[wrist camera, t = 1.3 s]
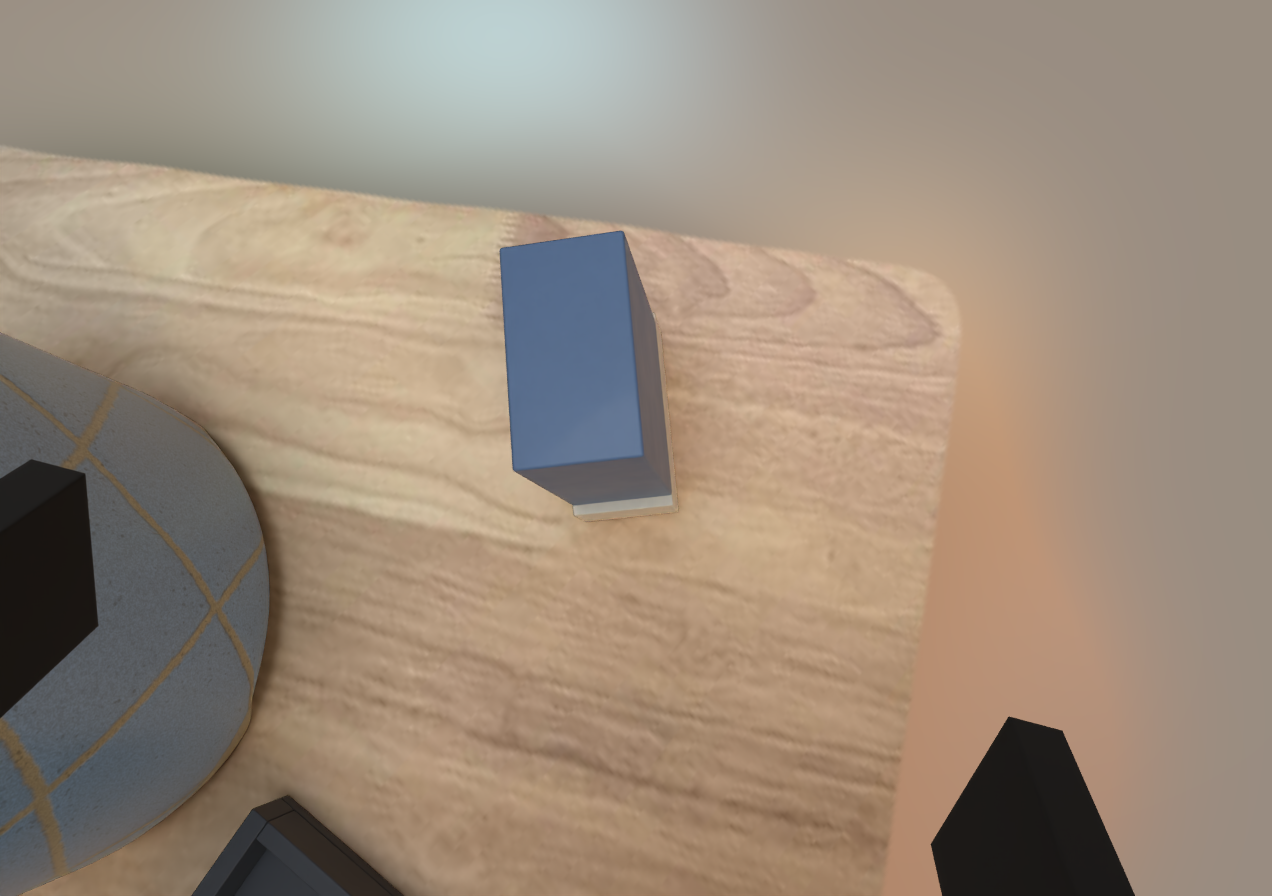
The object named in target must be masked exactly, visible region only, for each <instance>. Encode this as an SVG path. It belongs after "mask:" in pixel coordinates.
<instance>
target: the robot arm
mask: <svg viewBox="0 0 1272 896" xmlns="http://www.w3.org/2000/svg"><path fill="white" fill-rule="evenodd" d="M98 626H99V625H98V614H97V602H96V590H95V579H94V567H93V555H92V543H91V532H90V520H89V508H88V496H87V485H86V473H82V472H79V471H75V470H71V469H67V468H63V467H60V466H56V465H52V464H48V463H44V462H41V461H37V460H33V459H31V460H29V461H27V462H26V463H24V464H23V465H21V466H19V467H18V468H16V469H15V470H13V471H11V472H10V473H8V474H7V475H5V476H3V477H2V478H0V718H1V717H2V716H4V715H5V714H6V713H7V712H8V711H9V710H10V709H11V708H12V707H13V706H14V705H15V704H16V703H17V702H18V701H19V700H20V699H22V698H23V697H24V696H25V695H26V694H27V693H28V692H29V691H30V690H31V689H32V688H33V687H34V686H35V685H36V684H37V683H38V682H40V681H41V680H42V679H43V678H44V677H45V676H46V675H47V674H48V673H49V672H50V671H51V670H52V669H53V668H54V667H55V666H56V665H58V664H59V663H60V662H61V661H62V660H63V659H64V658H65V657H66V656H67V655H68V654H69V653H70V652H71V651H72V650H73V649H74V648H76V647H77V646H78V645H79V644H80V643H81V642H82V641H83V640H84V639H85V638H86V637H87V636H88V635H89V634H90V633H91V632H92V631H94V630H95V629H96V628H97V627H98ZM931 847H932V851H933V856H934V861H935V865H936V870H937V874H938V879H939V883H940V888H941V892H942V896H1135V894H1134V892H1133V890H1132V888H1131V886H1130V883H1129V881H1128V878H1127V876H1126V874H1125V872H1124V869H1123V867H1122V865H1121V863H1120V861H1119V858H1118V856H1117V854H1116V851H1115V849H1114V847H1113V845H1112V842H1111V840H1110V838H1109V835H1108V833H1107V831H1106V829H1105V826H1104V824H1103V822H1102V820H1101V817H1100V815H1099V813H1098V811H1097V808H1096V806H1095V804H1094V802H1093V799H1092V797H1091V795H1090V793H1089V791H1088V788H1087V786H1086V783H1085V781H1084V779H1083V777H1082V774H1081V772H1080V770H1079V768H1078V765H1077V763H1076V761H1075V759H1074V756H1073V754H1072V752H1071V750H1070V747H1069V745H1068V743H1067V740H1066V738H1065V736H1064V734H1063V731H1061V730H1058V729H1054V728H1050V727H1046V726H1043V725H1039V724H1035V723H1031V722H1027V721H1023V720H1020V719H1016V718H1012V717H1008V719H1007V720H1006V722H1005V723H1004V725H1003V727H1002V728H1001V730H1000V732H999V733H998V735H997V737H996V738H995V740H994V742H993V743H992V745H991V746H990V748H989V750H988V751H987V753H986V755H985V756H984V758H983V759H982V761H981V763H980V764H979V766H978V768H977V769H976V771H975V773H974V774H973V776H972V778H971V779H970V781H969V782H968V784H967V786H966V788H965V789H964V791H963V792H962V794H961V796H960V798H959V799H958V800H957V802H956V804H955V805H954V807H953V809H952V810H951V812H950V814H949V815H948V817H947V819H946V820H945V822H944V823H943V825H942V827H941V828H940V830H939V832H938V833H937V835H936V837H935V838H934V840H933V842H932V843H931Z"/></svg>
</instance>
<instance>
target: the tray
mask: <svg viewBox="0 0 1272 896" xmlns="http://www.w3.org/2000/svg"><path fill="white" fill-rule="evenodd" d="M192 896H403V895H402V894H401V893H400V892H399V891H397V890H396V889H395V888H394V887H393V886H392V885H391V884H389V883H388V882H387V881H386V880H385V879H384V878H383V877H381V876H380V875H379V874H378V873H377V872H376V871H375V870H373V869H372V868H371V867H370V866H369V865H368V864H366V863H365V862H364V861H363V860H362V859H361V858H360V857H358V856H357V855H356V854H355V853H354V852H353V851H352V850H350V849H349V848H348V847H347V846H346V845H345V844H344V843H342V842H341V841H340V840H339V839H338V838H337V837H335V836H334V835H333V834H332V833H331V832H330V831H329V830H327V829H326V828H325V827H324V826H323V825H322V824H321V823H319V822H318V821H317V820H316V819H315V818H314V817H313V816H311V815H310V814H309V813H308V812H307V811H306V810H304V809H303V808H302V807H301V806H300V805H299V804H298V803H296V802H295V801H294V800H293V799H292V798H291V797H290V796H288V795H287V796H285V797H282V798H279V799H276V800H274V801H271V802H269V803H266V804H264V805H261V806H259V807H256V808H254V809H252V810H251V812H250V813H249V815H248V816H247V818H246V819H245V820H244V822H243V823H242V825H241V826H240V828H239V829H238V830H237V832H236V833H235V835H234V836H233V837H232V839H231V840H230V842H229V843H228V845H227V846H226V847H225V849H224V850H223V852H222V853H221V854H220V856H219V857H218V859H217V860H216V862H215V863H214V864H213V866H212V867H211V869H210V870H209V871H208V873H207V874H206V876H205V877H204V879H203V880H202V881H201V883H200V884H199V886H198V887H197V888H196V890H195V891H194V893H193V894H192Z"/></svg>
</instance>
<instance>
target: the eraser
mask: <svg viewBox="0 0 1272 896" xmlns="http://www.w3.org/2000/svg"><path fill="white" fill-rule="evenodd" d="M500 267H501V283H502V300H503V316H504V333H505V350H506V366H507V383H508V399H509V416H510V432H511V449H512V466H513V470H514V471H515V472H516V473H518V474H520V475H522V476H523V477H525V478H527V479H529V480H530V481H532V482H534V483H535V484H537V485H539V486H541V487H542V488H544V489H546V490H548V491H549V492H551V493H553V494H555V495H556V496H558V497H560V498H561V499H563V500H565V501H567V502H568V503H570V504H572V505H573V515H574V516H576V517H577V518H579V519H581V520H583V521H585V522H590V521H600V520H609V519H619V518H628V517H638V516H647V515H657V514H666V513H676V512H678V511H679V508H678V498H677V488H676V478H675V468H674V458H673V448H672V438H671V428H670V418H669V407H668V397H667V387H666V377H665V367H664V357H663V347H662V337H661V330H660V327H659V324H658V321H657V318H656V315H655V313H652V311H651V308H650V305H649V303H648V300H647V297H646V294H645V291H644V288H643V285H642V283H641V280H640V277H639V274H638V271H637V268H636V265H635V263H634V260H633V257H632V254H631V251H630V248H629V245H628V243H627V240H626V237H625V234H624V232H623V231H615V232H608V233H602V234H595V235H588V236H581V237H574V238H567V239H560V240H553V241H546V242H540V243H533V244H526V245H519V246H512V247H505V248H501V249H500Z"/></svg>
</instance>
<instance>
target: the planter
mask: <svg viewBox="0 0 1272 896" xmlns="http://www.w3.org/2000/svg"><path fill="white" fill-rule="evenodd" d="M31 459H33V460H37V461H41V462H44V463H48V464H52V465H56V466H60V467H63V468H67V469H71V470H75V471H79V472H82V473H86V485H87V496H88V508H89V520H90V532H91V543H92V555H93V567H94V579H95V590H96V602H97V614H98V625H99V626H98V627H97V628H96V629H95V630H94V631H92V632H91V633H90V634H89V635H88V636H87V637H86V638H85V639H84V640H83V641H82V642H81V643H80V644H79V645H78V646H77V647H76V648H74V649H73V650H72V651H71V652H70V653H69V654H68V655H67V656H66V657H65V658H64V659H63V660H62V661H61V662H60V663H59V664H58V665H56V666H55V667H54V668H53V669H52V670H51V671H50V672H49V673H48V674H47V675H46V676H45V677H44V678H43V679H42V680H41V681H40V682H38V683H37V684H36V685H35V686H34V687H33V688H32V689H31V690H30V691H29V692H28V693H27V694H26V695H25V696H24V697H23V698H22V699H20V700H19V701H18V702H17V703H16V704H15V705H14V706H13V707H12V708H11V709H10V710H9V711H8V712H7V713H6V714H5V715H4V716H2V717H1V718H0V896H18V895H20V894H23V893H25V892H27V891H29V890H32V889H34V888H36V887H39V886H41V885H43V884H46V883H48V882H50V881H53V880H55V879H57V878H60V877H62V876H64V875H66V874H69V873H71V872H73V871H76V870H78V869H80V868H83V867H85V866H87V865H90V864H92V863H94V862H95V861H97V860H99V859H101V858H103V857H105V856H107V855H109V854H111V853H113V852H115V851H117V850H119V849H120V848H122V847H124V846H125V845H127V844H129V843H130V842H132V841H133V840H135V839H137V838H138V837H140V836H141V835H143V834H144V833H145V832H147V831H148V830H150V829H151V828H152V827H154V826H155V825H157V824H158V823H159V822H161V821H162V820H163V819H165V818H166V817H167V816H168V815H170V814H171V813H172V812H173V811H175V810H176V809H177V808H178V807H180V806H181V805H182V804H183V803H184V802H185V801H187V800H188V799H189V798H190V797H191V796H192V795H193V794H195V793H196V792H197V791H198V790H199V789H200V788H201V787H202V786H203V785H204V784H205V783H206V782H207V781H208V780H209V779H210V778H211V777H212V776H213V775H214V774H215V773H216V771H217V770H218V769H219V768H220V767H221V766H222V764H223V763H224V762H225V761H226V760H227V758H228V757H229V756H230V754H231V753H232V752H233V750H234V749H235V748H236V746H237V745H238V743H239V742H240V740H241V739H242V737H243V736H244V734H245V732H246V730H247V728H248V726H249V723H250V720H251V706H252V697H253V693H254V689H255V685H256V681H257V677H258V673H259V669H260V665H261V660H262V656H263V651H264V646H265V640H266V634H267V627H268V616H269V591H270V589H269V571H268V563H267V555H266V549H265V544H264V539H263V535H262V531H261V527H260V524H259V521H258V517H257V514H256V512H255V509H254V506H253V504H252V501H251V499H250V497H249V495H248V493H247V490H246V488H245V486H244V484H243V482H242V481H241V479H240V477H239V476H238V474H237V472H236V471H235V469H234V468H233V466H232V465H231V463H230V462H229V460H228V459H227V458H226V456H225V455H224V454H223V452H222V451H221V450H220V448H219V447H218V446H217V445H216V443H215V442H214V441H213V440H212V438H211V437H210V436H209V435H208V433H207V432H206V430H205V429H204V428H202V427H201V426H200V425H198V424H197V423H195V422H194V421H192V420H191V419H189V418H188V417H186V416H184V415H183V414H181V413H179V412H177V411H175V410H174V409H172V408H171V407H169V406H167V405H166V404H164V403H162V402H160V401H158V400H157V399H155V398H153V397H151V396H149V395H147V394H145V393H143V392H140V391H138V390H136V389H133V388H131V387H129V386H126V385H124V384H121V383H119V382H117V381H114V380H112V379H109V378H107V377H104V376H102V375H100V374H97V373H95V372H92V371H90V370H87V369H85V368H83V367H80V366H78V365H75V364H73V363H71V362H68V361H66V360H64V359H61V358H59V357H57V356H54V355H52V354H50V353H47V352H45V351H43V350H40V349H38V348H36V347H33V346H31V345H29V344H26V343H24V342H22V341H19V340H17V339H15V338H12V337H10V336H8V335H5V334H3V333H1V332H0V478H2V477H3V476H5V475H7V474H8V473H10V472H11V471H13V470H15V469H16V468H18V467H19V466H21V465H23V464H24V463H26V462H27V461H29V460H31Z"/></svg>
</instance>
